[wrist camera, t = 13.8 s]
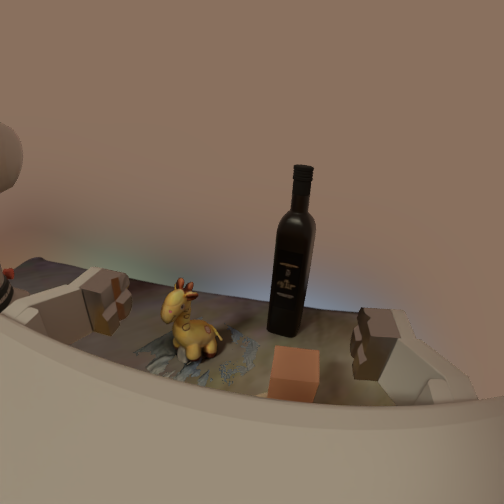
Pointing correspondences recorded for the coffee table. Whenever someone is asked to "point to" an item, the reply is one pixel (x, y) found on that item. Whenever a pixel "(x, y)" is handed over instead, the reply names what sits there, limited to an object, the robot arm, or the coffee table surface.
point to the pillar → (294, 374)
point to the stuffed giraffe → (190, 339)
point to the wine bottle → (292, 258)
